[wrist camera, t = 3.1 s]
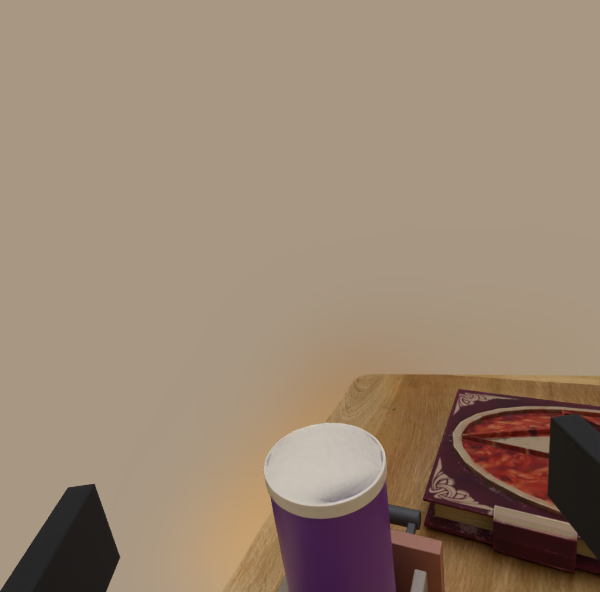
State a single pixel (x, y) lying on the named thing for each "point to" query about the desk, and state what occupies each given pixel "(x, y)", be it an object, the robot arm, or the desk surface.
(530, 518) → the book
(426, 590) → the drawer
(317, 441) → the tube
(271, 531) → the desk surface
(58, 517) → the robot arm
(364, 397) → the desk surface
